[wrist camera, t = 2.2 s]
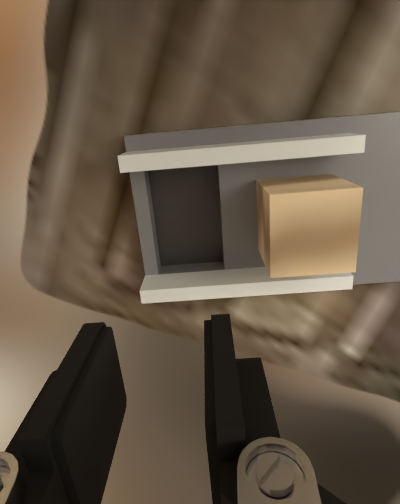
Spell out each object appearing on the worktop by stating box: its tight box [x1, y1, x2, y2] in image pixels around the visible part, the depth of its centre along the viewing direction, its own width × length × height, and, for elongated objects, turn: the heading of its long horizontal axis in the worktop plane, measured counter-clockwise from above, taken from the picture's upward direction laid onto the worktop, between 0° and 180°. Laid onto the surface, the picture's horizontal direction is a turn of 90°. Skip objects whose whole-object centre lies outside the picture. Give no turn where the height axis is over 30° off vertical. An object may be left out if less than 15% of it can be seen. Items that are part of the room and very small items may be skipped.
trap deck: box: [118, 111, 400, 304], centre depth 24 cm, size 12×25×4 cm, turn 95°
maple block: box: [256, 174, 363, 278], centre depth 22 cm, size 5×5×5 cm
